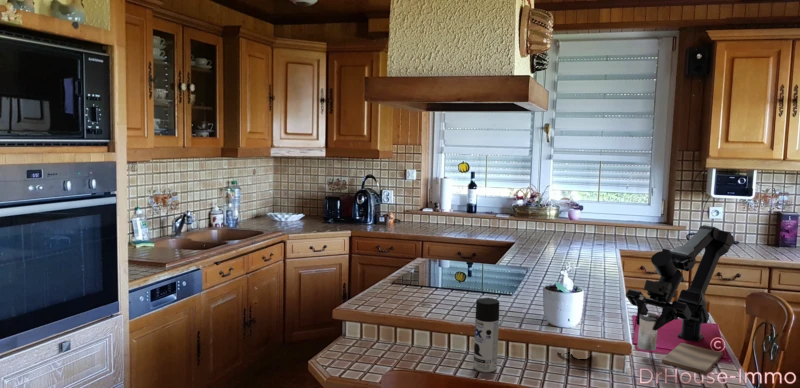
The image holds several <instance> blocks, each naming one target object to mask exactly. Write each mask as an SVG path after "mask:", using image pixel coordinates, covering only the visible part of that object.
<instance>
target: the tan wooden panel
mask: <svg viewBox="0 0 800 388" xmlns="http://www.w3.org/2000/svg"><path fill="white" fill-rule="evenodd" d="M721 356H722V357H723V352H721V351H717V350H716V351H715V350H712V349H709V348H704V347H700V346H696V345H693V344H688V343H684V342H680V343H679V344H678V345H676V347H674V348H673V349H672V350H671V351H670V352H669V353H667V354H666V355H665V356H664V357H663V358H662V359H661V363H663V364H667V365H669V366H670V365H671V366H674V367H677V368H681V369H684V370H689V371H692V372H696V373H699V374H703V375H706V374H708V372H709V371H710V370H711V369H712V368H713V367H714V366H715V364H717V363H718V361H719V360H720V359H721V358H722V357H721Z"/></svg>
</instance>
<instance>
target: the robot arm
mask: <svg viewBox="0 0 800 388" xmlns="http://www.w3.org/2000/svg"><path fill="white" fill-rule="evenodd" d="M734 241H735V238H734V236H733V234H732V233H731V231H726V230H722V229H719V228H717V227H716V226H712V225H706V224H703V225H700V226H699V227H698V230H697V231H696V232H695V233H694V235H693V236H692V237H690V238H689V240H687V242H686V243H684V245H680V246H675V247H674V248H673V249H671V250H670V249H667V248H663V249H662V251H661V250H660V251H658V252H655V253H654V254H653V255H652V256H651V258H650V262H651V263H652V265H653V268H654V269H655V271H656V273H657V274H658V275H659V276H660V277H659V279H658V280H649V279H645V283H644V287H643V289H642V290H643V291H645V292H646V291H647V292H646V295H647V296H649V297H647V296H645V295H644V294H643V292H642V291H641V290H636V289H634V288H629V289H628V290H627V292H626V293H625V296H626V299H627V301H629V303H630V305H632V306H635V307H637V311H636V313H637V315H636V323H635V324H636V325H637V326H639V321H640V317H639V316H640V313H643V312H648V313H649V308H647V306H648V305H651V306H653V307H657V308H661V314H660V315H659V319H658V320H657V322H656V324H655V326H654V330H655V331H656V330H659V329H661V328H662V327H664V326H665V325H667V324H669V323H671V322H672V321H674V320H676V321H677V320H678V319H681V320H682V321H681V332H680V333H679V334H677V337H678V338H681V339H686V340H689V341H693V342H696V343H697V342H700V340H702V339H703V338H704V334H701V332H702V325H703V324H708V321H709V319H710V314H709V312H708V309H707V307H706V306H707V301H706V298H705V297H706V296H705V295H706V292H707V289H708V287H709V285H710V281H711V279H712V278H713V275H714V273H715V270H716V268H717V265H718V262H719V261H720V258H722V257H723V256H724V255H725V254H727V253H728V252H729V250H730V249H731V247H732V246H733V245H734ZM703 250H704V252H703V254H702V257H701V259H700V262H699V264H698V267H697V269H696V271H695V274H694V275H693V278H692V281H691V283H690V286H689V287H688V288H687V289H683V288H682V289H681V290H680V292H679V296H678V297H677V299H675V300H673V298H676V296H677V294H676V292H677V290H678V288H679V286H680V284H681V283H685V279H684V278H685V277H684V275H683V274H684V273H682V271H684V272H690V271H691V270H692V269H693V268H694V267H695V265H696V263H697V261H696V258H697V256H699V254H701V252H702V251H703Z"/></svg>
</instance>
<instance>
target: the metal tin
mask: <svg viewBox="0 0 800 388" xmlns="http://www.w3.org/2000/svg"><path fill="white" fill-rule="evenodd" d="M639 317H640V321H639V325H638V334H637V336H638V337H637V348H639V349H640V350H644V351H648V352H649V351H655V350H656V349H657V343H658V342H657V340H658V330H659V329H658V330H656V331H655V330H654V326H655V324H656V322H657V320H658V319H659V317H660V315H658V314H656V313H654V312H649V311H648V312H643V313H640V316H639Z"/></svg>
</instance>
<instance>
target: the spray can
mask: <svg viewBox="0 0 800 388" xmlns="http://www.w3.org/2000/svg"><path fill="white" fill-rule="evenodd" d="M474 316H475V319H474V341H473V342H474V345H473V347H474V348H473V365H472V366H473V368H474V370H475V371H477V372H480V373H484V374H489V373H494V372H496V370H497V367H498V350H499V348H498V347H499V344H498V343H499V327H500V325H499V324H500V301H499V300H498V299H496V298H492V297H482V298H478V299H476V303H475V315H474Z"/></svg>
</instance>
